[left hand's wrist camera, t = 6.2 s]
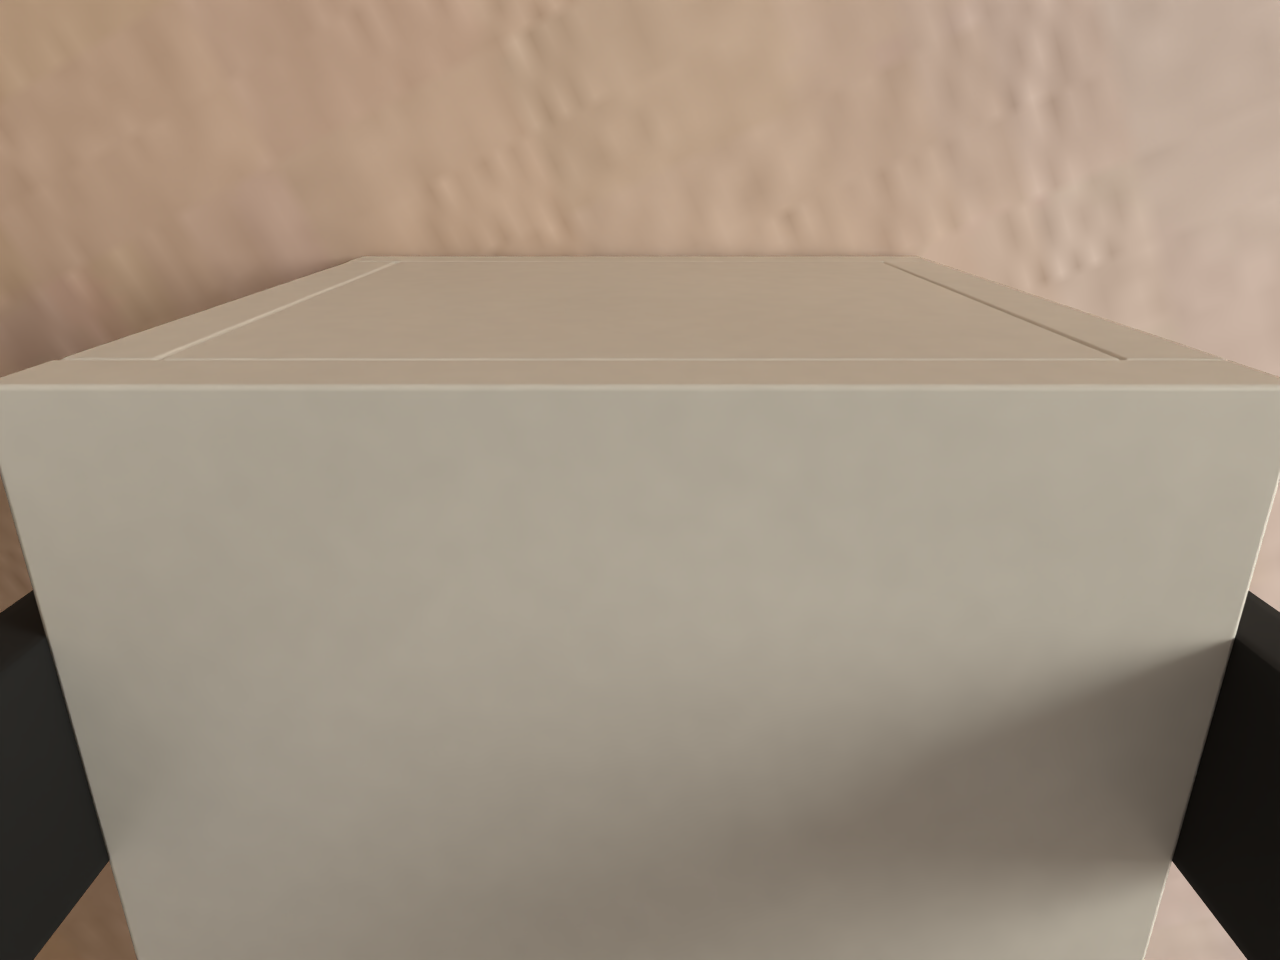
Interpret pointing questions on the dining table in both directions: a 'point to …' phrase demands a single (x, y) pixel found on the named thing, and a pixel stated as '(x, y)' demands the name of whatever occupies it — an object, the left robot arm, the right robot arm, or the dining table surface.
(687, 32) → the dining table surface
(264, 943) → the cabinet
